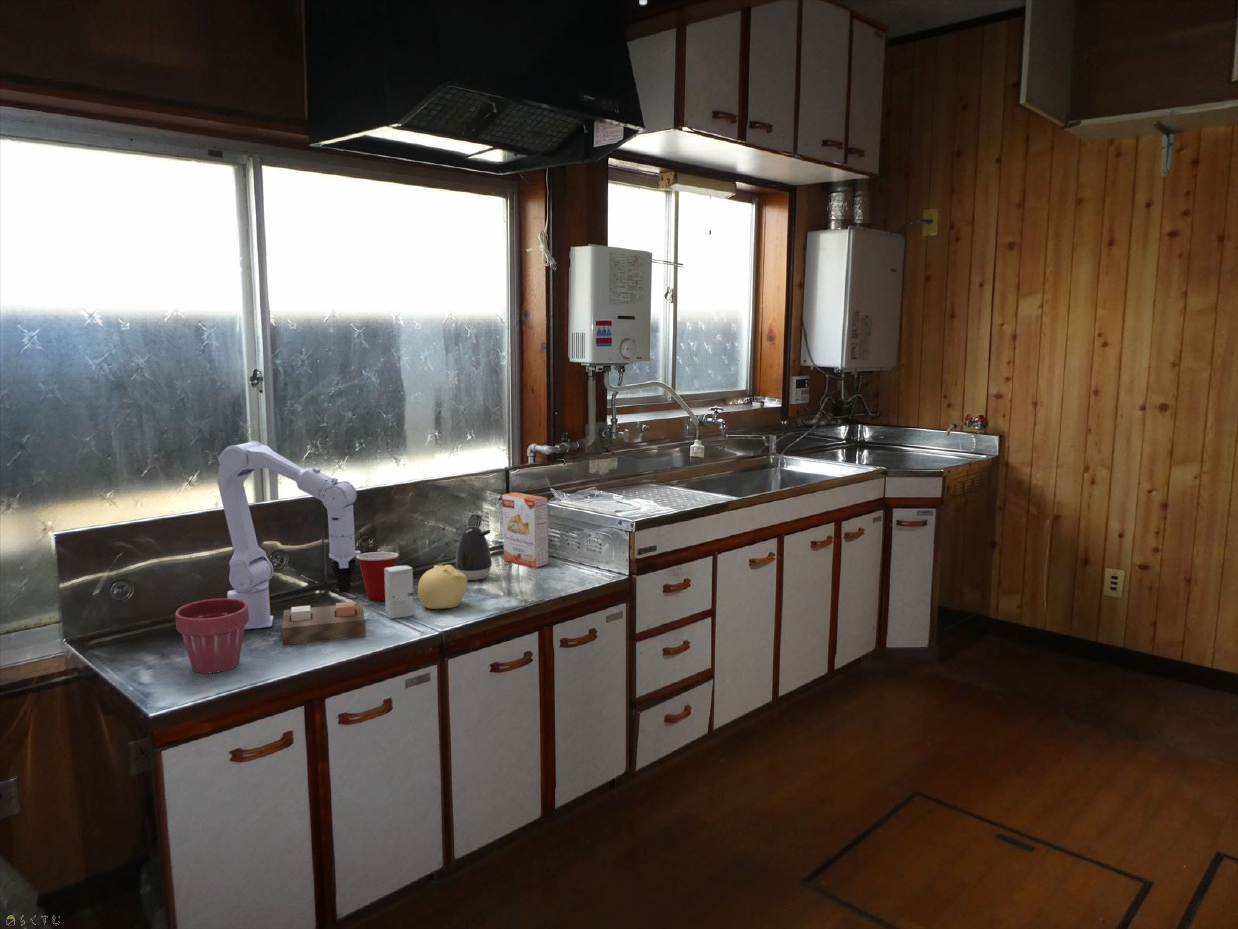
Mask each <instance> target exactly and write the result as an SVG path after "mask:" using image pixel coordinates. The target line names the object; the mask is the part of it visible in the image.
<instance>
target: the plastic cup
mask: <svg viewBox="0 0 1238 929" xmlns="http://www.w3.org/2000/svg"><path fill="white" fill-rule="evenodd" d="M355 557H356V558H355V559H357V562H358V564H359V568H360V572H361V576H362V580H363V584H364V589H365V593H366V597H367V600H368V601H371V600H374V601H373V602H381V600H382V601H385V573H384V568H388V567H394V566H396V562H397V558H398V557H399V553H397V552H392V551H391V552H390V551H375V552H374V551H373V552H365V553H361V555H356V556H355Z"/></svg>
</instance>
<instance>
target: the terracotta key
mask: <svg viewBox="0 0 1238 929" xmlns="http://www.w3.org/2000/svg"><path fill="white" fill-rule="evenodd" d="M355 604H356V603H355V601H346V602H344V601H343V602H336V603H335V605H336V614H337V617H341V616H351V615H355Z"/></svg>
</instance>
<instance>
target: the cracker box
mask: <svg viewBox="0 0 1238 929" xmlns="http://www.w3.org/2000/svg"><path fill="white" fill-rule="evenodd" d="M501 495H502V496H501V497H502V499H501V500H502V501H501V502H502V503H501V504H502V532H503V533H502V535H503V536H502V537H503V538H502V540H503V561H505V562H508V561H509V562H510V563H513V564H517V565H522V566H525V567H529V568H533V569H538V568H541V567H544V566H548V565H549V522H548V520H549V518H548V516H549V515H548V514H549V513H548V497H545V496H540V495H533V494H528V493H527V494H526V493H522V492H518V491H517V492H510V493H504V494H501Z"/></svg>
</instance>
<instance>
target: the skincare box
mask: <svg viewBox="0 0 1238 929" xmlns="http://www.w3.org/2000/svg"><path fill="white" fill-rule="evenodd" d="M413 572H414V571H413V567H412V566H409V565H407V564H406V565H395V566H394V567H388V568H384V573H385V600H384V602H385V605H384V606H385V615H386V617H388V618H389V619H390V620H392V619H400V618H405V617H411V616H414V614H415V610H414V608H415V607H414V576H413V574H414V573H413Z"/></svg>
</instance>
